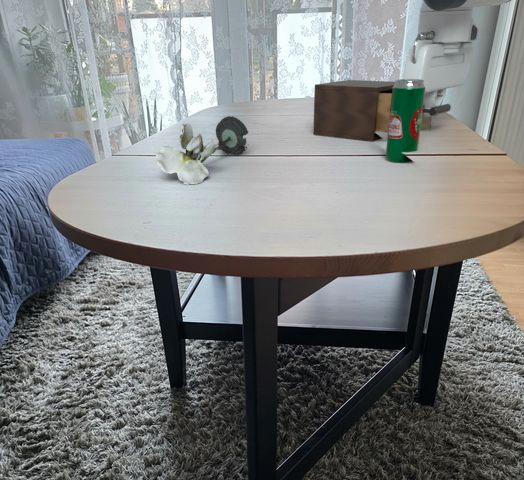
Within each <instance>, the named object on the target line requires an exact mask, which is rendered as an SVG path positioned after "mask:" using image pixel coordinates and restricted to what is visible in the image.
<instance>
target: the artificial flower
mask: <svg viewBox="0 0 524 480" xmlns="http://www.w3.org/2000/svg"><path fill="white" fill-rule="evenodd" d="M248 134H249V130H248V128H247V127H246V124H245V123H243V122H242V121H241V120H240V119H239V118H238V117H235V116H230V115H228V116H225V117H223V118H221V120H220V121H218V123H217V125H216V126H215V137H216V138H214V139H212V140H211V141H210V142H208V143H207V144H205V145H204V141H203V136H202V134H201V133H199V134H197V136H194V131H193V128H192V125H191V123H182V124H181V127H180V132H179V137H178V140H179V144H180V147H181V148H182V149H183V150H185V152H184V151H181V150H178V149H177V148H176V147H173V146H169V145H164V146H161V148H160V150H159V151H158V152H157V153H155V162H156V164H157V165H158V167H159V168H160V170H162V172H164V173H166V174H170V175H171V174H176V175H177V178H178V180H179V181H181V182H183V185H187V186H189V185H198V184H201V183H203V181H204V180H205V179H206V178H207V177H209V176H210V175H209V170H208V168H207V167H206V166H205V165H204V164H203V163H204V162H205V161H206V160H207V159H208V158H209V157H210V156H212V155H213V154H214V153H216V152H217V151H218V150H219V151H222V152H223V153H224V154H227V155H229V154H231V155H237V156H238V155H242V154H244V152H245V151H246V150H247V149H248V146H249V143H247V138H246V137H245V136H247V135H248ZM246 145H247V146H246Z"/></svg>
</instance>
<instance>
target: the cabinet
mask: <svg viewBox="0 0 524 480" xmlns="http://www.w3.org/2000/svg"><path fill="white" fill-rule="evenodd" d="M395 83H396V82H395V81H387V80H385V81H384V80H361V79H359V80H357V79H347V80H346V79H345V80H339V81H331V82H330V81H329V82H324V83H317V84H314V96H313V97H314V100H313V128H312V129H313V133H312V134H313V136H320V137H328V138H329V137H330V138H337V139H347V140H354V141H355V140H357V141H363V142H371V143H372V142H376V141H380V140H383V139H384V138H383V137H382V136H380V135H379V134H378V133H377V131H376V121H377V109H378V98H379V92H381V91H387V90H392V88H393V86H394V85H395ZM375 133H376V134H375Z"/></svg>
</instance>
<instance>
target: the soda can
mask: <svg viewBox="0 0 524 480" xmlns="http://www.w3.org/2000/svg"><path fill="white" fill-rule="evenodd" d="M394 82H396V83H395V85H394V86H393V88H392V97H391V107H390V117H389V127H388V132H387V138H386V149H385V158H386V159H387V161H389V162H392V163H401V164H403V163H404V164H405V163H411V162H413V159H411V158H410V157H408V156H407V155H406V154H405V153H414V152H416V151H418V148H419V140H420V132H421V130H420V126H421V118H422V111H423V103H424V95H425V86H424V83H423V82H424V80H422V79H403V78H400V79H395V81H394Z"/></svg>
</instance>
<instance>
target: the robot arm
mask: <svg viewBox="0 0 524 480" xmlns="http://www.w3.org/2000/svg"><path fill="white" fill-rule="evenodd" d="M511 1H512V0H422V3H421V6H420V9H419V15H418V25H417V34H416V38H415V39H414V40H413V43H412V45H411V46H410V47H409V49H408V52H407V55H406V60H405V65H404V71H403V78H402V79H422V80H424V82H423V83H424V86H425V95H424V106H425V109H430V108H432V107H436V106H440V105H443V102H444V99H445V97H446V93H447V89H451V88H456V87H461V86H464V85H465V84H466V82H467V79H468V77H469V73H470V68H471V64H472V60H473V59H472V58H473V53H474V42H477V40H478V37H479V33H480V30H479V27H478V26H477V25H476V24H475V22H474V19H473V11H474V8H477V7H478V8H479V7H493V6H494V7H495V6H500V5H503V4H506V3H507V4H508V3H510V2H511ZM439 115H440V114H437V115H433V116H431V115H430V114H429V113H424V116H425V117H432V118H433V117H438V116H439Z"/></svg>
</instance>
